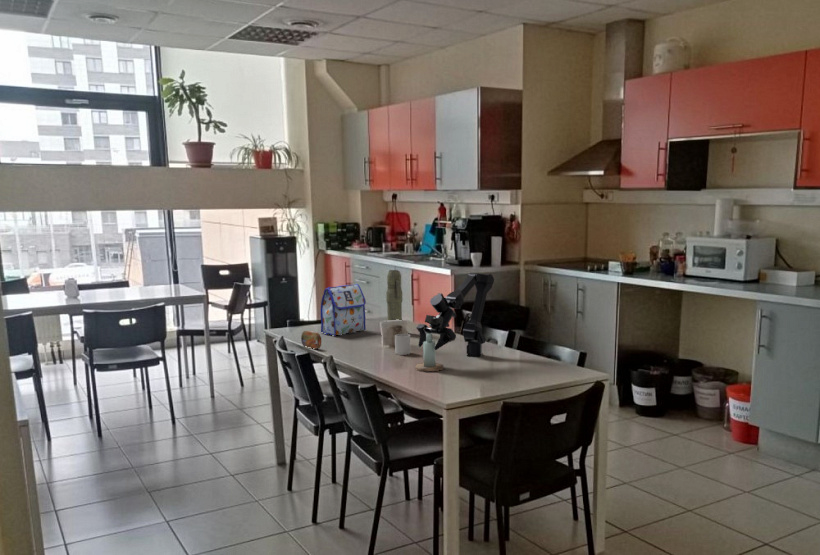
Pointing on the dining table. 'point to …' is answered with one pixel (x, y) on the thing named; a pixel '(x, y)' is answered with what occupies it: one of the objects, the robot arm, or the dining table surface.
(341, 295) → the lunch bag
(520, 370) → the dining table surface
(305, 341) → the tin
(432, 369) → the tan flat disc
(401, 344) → the cup
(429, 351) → the ceramic bottle
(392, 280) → the thermos
